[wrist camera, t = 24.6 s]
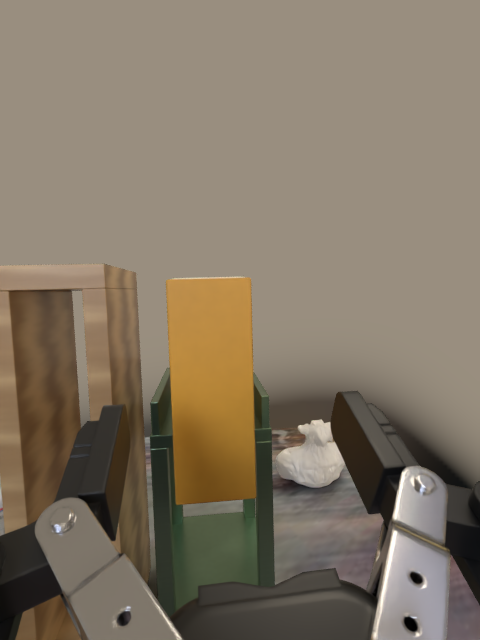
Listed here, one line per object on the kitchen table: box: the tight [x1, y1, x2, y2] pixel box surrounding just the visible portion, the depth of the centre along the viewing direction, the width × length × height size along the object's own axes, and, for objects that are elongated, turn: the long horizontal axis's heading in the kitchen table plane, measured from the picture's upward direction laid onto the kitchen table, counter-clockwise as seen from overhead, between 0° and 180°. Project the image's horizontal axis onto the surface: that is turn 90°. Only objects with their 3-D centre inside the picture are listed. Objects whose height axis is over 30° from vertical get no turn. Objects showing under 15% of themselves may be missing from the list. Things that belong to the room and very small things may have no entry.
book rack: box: [150, 368, 275, 618], centre depth 33 cm, size 12×9×22 cm
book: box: [166, 277, 256, 505], centre depth 28 cm, size 21×4×11 cm, turn 6°
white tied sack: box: [276, 419, 345, 488], centre depth 55 cm, size 12×8×11 cm
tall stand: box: [0, 264, 151, 640], centre depth 32 cm, size 12×8×32 cm, turn 6°
